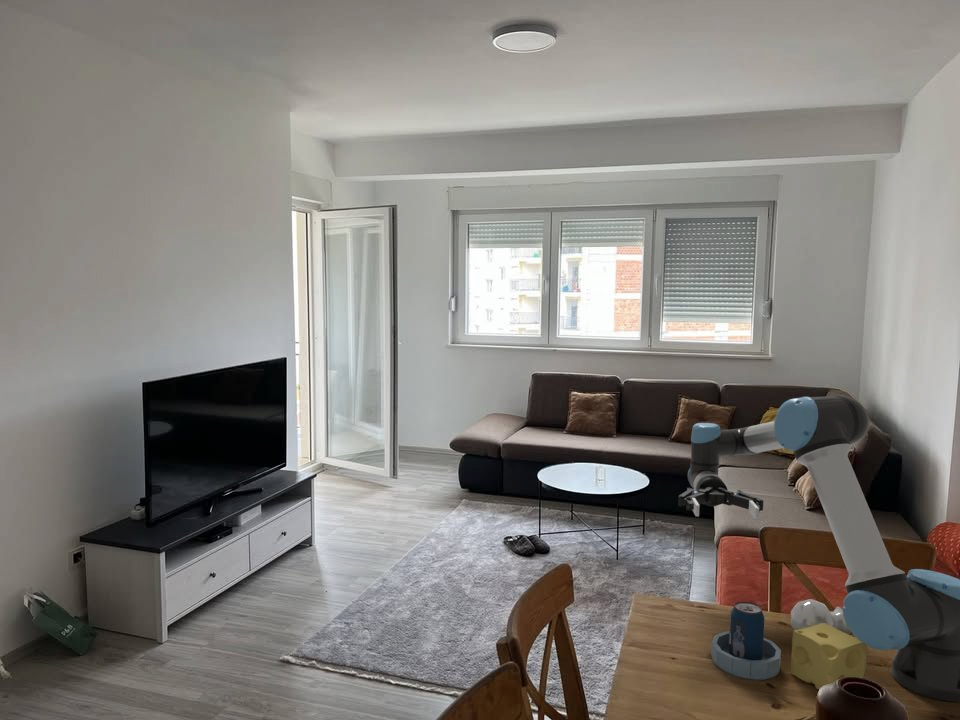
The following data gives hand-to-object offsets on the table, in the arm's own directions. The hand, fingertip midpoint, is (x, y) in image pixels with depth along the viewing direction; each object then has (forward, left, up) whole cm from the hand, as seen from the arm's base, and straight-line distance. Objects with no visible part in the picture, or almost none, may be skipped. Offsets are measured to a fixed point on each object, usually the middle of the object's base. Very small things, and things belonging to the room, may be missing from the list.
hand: (727, 512), depth 168 cm
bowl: (-7, +12, -30) cm, 33 cm away
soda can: (-7, +12, -29) cm, 32 cm away
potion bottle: (-21, -10, -30) cm, 38 cm away
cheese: (-23, +11, -30) cm, 39 cm away
